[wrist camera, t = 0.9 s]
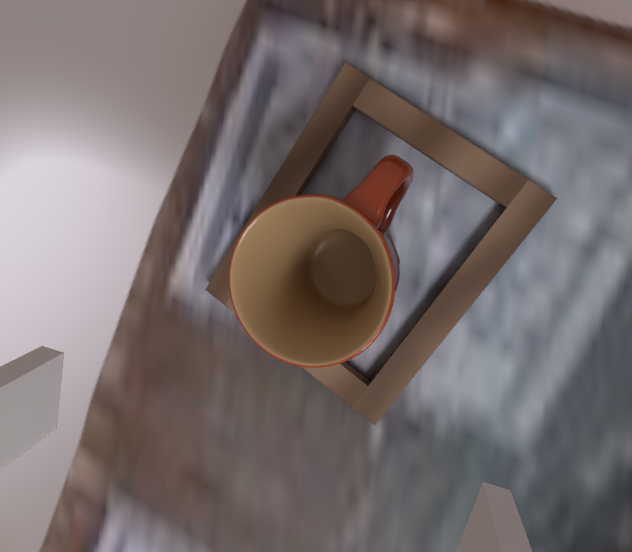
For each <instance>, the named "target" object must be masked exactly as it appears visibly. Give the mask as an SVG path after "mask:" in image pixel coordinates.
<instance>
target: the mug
mask: <svg viewBox="0 0 632 552" xmlns="http://www.w3.org/2000/svg"><path fill="white" fill-rule="evenodd" d="M413 173H414V172H413V168H412V167H411V166H410V164H408V163H407V162H406V161H404V160H403V159H401V158H400V157H398V156H395V155H387V156H385V157H384V158H382V159H381V160H380V161H379V162H378V163H377V164H376V165H375V166H374V167H373V169H372V170H371V171H370V172H369V174H368V175H367V176H366V178H365V179H364V180H363V182H362V183H361V184H360V185H359V186H358V187H356V188H355V189H354V190H352V191H351V192H350V193H349V194H348V195H347V196H346V197H345V198H344V199H343V200H342V201H341V200H339V199H337V198H334V197H331V196H328V195H318V194H309V195H298V196H293V197H289V198H285V199H282V200H280V201H277V202H275V203H273V204H271V205H269V206H268V207H266V208H265V209H263V210H262V211H261V212H259V213H258V214H257V215H256V216H255V217H254V218H253V219H252V220H251V221H250V222H249V223H248V224H247V225H246V227H245V228H244V230H243V231H242V233H241V234H240V236H239V238H238V240H237V242H236V244H235V247H234V249H233V252H232V256H231V260H230V266H229V291H230V297H231V301H232V305H233V308H234V311H235V313H236V316H237V318H238V320H239V322H240V324H241V325H242V327H243V328H244V330H245V331H246V333H247V334H248V335H249V337H250V338H251V339H252V340H253V341H254V342H255V343H256V344H257V345H258V346H259V347H260V348H261V349H263V350H264V351H265V352H267V353H268V354H270V355H271V356H273V357H275V358H277V359H279V360H281V361H283V362H286V363H288V364H292V365H295V366H300V367H308V368H322V367H329V366H333V365H337V364H340V363H343V362H346V361H348V360H350V359H352V358H354V357H355V356H357V355H359V354H360V353H361V352H363V351H364V350H365V349H366V348H368V347H369V346H370V345H371V344H372V343H373V342H374V340H375V339H376V338H377V337H378V335H379V334H380V333H381V331H382V330H383V328H384V326H385V324H386V322H387V320H388V318H389V315H390V313H391V309H392V306H393V301H394V295H395V291H396V288H397V285H398V281H399V264H400V260H399V257H398V254H397V251H396V248H395V246H394V243H393V241H392V239H391V238H390V236H389V235H388V234H387V230H388V228H389V227H390V225H391V223H392V220H393V218H394V215H395V212H396V210H397V208H398V206H399V204H400V202H401V200H402V199H403V197H404V196H405V194H406V192H407V190H408V188H409V186H410V184H411V182H412V179H413Z"/></svg>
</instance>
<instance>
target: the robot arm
mask: <svg viewBox="0 0 632 552" xmlns="http://www.w3.org/2000/svg"><path fill="white" fill-rule="evenodd" d="M63 358H64V353H63V352H59V351H57V350H53V349H50V348H47V347H44V346H41V347H39V348H37V349H35V350H33V351H31V352H29V353H27V354H25V355H23V356H21V357H19V358H17V359H15V360H13V361H11V362H9V363H7V364H5V365H3V366H1V367H0V471H1V470H3V469H4V468H5V467H6V466H8V465H9V464H10V463H12V462H13V461H14V460H16V459H17V458H18V457H20V456H21V455H22V454H24V453H25V452H26V451H27V450H29V449H30V448H31V447H33V446H34V445H35V444H37V443H38V442H39V441H41V440H42V439H43V438H45V437H46V436H47V435H48V434H50V433H51V432H52V431H53V430H55V429H56V428H57V421H58V410H59V400H60V390H61V379H62V368H63ZM456 552H532V549H531V547H530V544H529V541H528V538H527V536H526V533H525V530H524V527H523V524H522V522H521V519H520V516H519V513H518V510H517V508H516V505H515V502H514V499H513V497H512V494H511V491H510V490H508V489H504V488H501V487H498V486H495V485H491V484H488V483H485V482H483V483H482V486H481V488H480V491H479V493H478V496H477V499H476V501H475V504H474V506H473V509H472V511H471V514H470V517H469V519H468V522H467V524H466V527H465V529H464V532H463V535H462V537H461V540H460V542H459V545H458V548H457V550H456Z"/></svg>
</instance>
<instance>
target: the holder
mask: <svg viewBox="0 0 632 552" xmlns="http://www.w3.org/2000/svg"><path fill="white" fill-rule="evenodd" d="M355 109H356V110H358V111H359V112H361V113H362V114H364V115H365V116H367V117H368V118H370V119H371V120H373V121H374V122H376V123H377V124H379V125H380V126H382V127H383V128H385V129H386V130H388V131H389V132H391V133H392V134H394V135H395V136H397V137H399V138H400V139H402V140H403V141H405V142H406V143H408V144H409V145H411V146H412V147H414V148H415V149H417V150H418V151H420V152H421V153H423V154H424V155H426V156H427V157H429V158H430V159H432V160H433V161H435V162H436V163H438V164H439V165H441V166H442V167H444V168H445V169H447V170H449V171H450V172H452V173H453V174H455V175H456V176H458V177H459V178H461V179H462V180H464V181H465V182H467V183H468V184H470V185H471V186H473V187H474V188H476V189H477V190H479V191H480V192H482V193H483V194H485V195H486V196H488V197H489V198H491V199H492V200H494V201H495V202H497V203H499V204H500V205H502V206H503V207H505V209H504V210H503V212H502V213H501V214H500V216H499V217H498V218H497V219H496V221H495V222H494V223H493V225H492V226H491V227H490V228H489V230H488V231H487V232H486V234H485V235H484V236H483V237H482V239H481V240H480V241H479V243H478V244H477V245H476V246H475V248H474V249H473V250H472V252H471V253H470V254H469V255H468V257H467V258H466V259H465V261H464V262H463V263H462V265H461V266H460V267H459V268H458V270H457V271H456V272H455V274H454V275H453V276H452V277H451V279H450V280H449V281H448V283H447V284H446V285H445V286H444V288H443V289H442V290H441V292H440V293H439V294H438V295H437V297H436V298H435V299H434V301H433V302H432V303H431V304H430V306H429V307H428V308H427V310H426V311H425V312H424V313H423V315H422V316H421V317H420V319H419V320H418V321H417V322H416V324H415V325H414V326H413V328H412V329H411V330H410V331H409V333H408V334H407V335H406V337H405V338H404V339H403V340H402V342H401V343H400V344H399V346H398V347H397V348H396V350H395V351H394V352H393V353H392V355H391V356H390V357H389V359H388V360H387V361H386V362H385V364H384V365H383V366H382V368H381V369H380V370H379V371H378V373H377V374H376V375H375V377H374V378H373V379H372V380H371V382H370V381H369V380H368V379H367V378H365V377H364V376H363V375H361V374H360V373H359V372H358V371H356V370H355V369H354V368H352V367H351V366H350V365H349V364H347V363H346V362H343V363H340V364H337V365H333V366H329V367H322V368H308V367H303V368H304V369H305V370H306V371H308V372H309V373H310V374H311V375H313V376H314V377H315V378H316V379H318V380H319V381H320V382H321V383H323V384H324V385H325V386H326V387H328V388H329V389H330V390H331V391H333V392H334V393H335V394H336V395H338V396H339V397H340V398H341V399H343V400H344V401H345V402H346V403H348V404H349V405H350V406H351V407H353V408H354V409H355V410H356V411H358V412H359V413H360V414H361V415H363V416H364V417H365V418H366V419H368V420H369V421H370V422H371V423H373V424H374V425H375V424H376V423H377V422H378V420H379V419H380V418H381V417H382V416H383V414H384V413H385V412H386V411H387V409H388V408H389V407H390V406H391V404H392V403H393V402H394V401H395V399H396V398H397V397H398V396H399V394H400V393H401V392H402V391H403V389H404V388H405V387H406V386H407V384H408V383H409V382H410V381H411V379H412V378H413V377H414V376H415V374H416V373H417V372H418V371H419V370H420V368H421V367H422V366H423V365H424V363H425V362H426V361H427V360H428V358H429V357H430V356H431V355H432V353H433V352H434V351H435V350H436V348H437V347H438V346H439V345H440V343H441V342H442V341H443V340H444V338H445V337H446V336H447V335H448V333H449V332H450V331H451V330H452V328H453V327H454V326H455V325H456V324H457V322H458V321H459V320H460V319H461V317H462V316H463V315H464V314H465V312H466V311H467V310H468V309H469V307H470V306H471V305H472V304H473V302H474V301H475V300H476V299H477V297H478V296H479V295H480V294H481V292H482V291H483V290H484V289H485V287H486V286H487V285H488V284H489V282H490V281H491V280H492V279H493V278H494V276H495V275H496V274H497V273H498V271H499V270H500V269H501V268H502V266H503V265H504V264H505V263H506V261H507V260H508V259H509V258H510V256H511V255H512V254H513V253H514V251H515V250H516V249H517V248H518V246H519V245H520V244H521V243H522V241H523V240H524V239H525V238H526V237H527V235H528V234H529V233H530V232H531V230H532V229H533V228H534V227H535V225H536V224H537V223H538V222H539V220H540V219H541V218H542V217H543V215H544V214H545V213H546V212H547V210H548V209H549V208H550V207H551V205H552V204H553V203H554V202H555V200H556V199H557V198H556V197H554V196H553V195H551V194H550V193H548V192H547V191H545V190H543V189H542V188H540V187H539V186H537V185H536V184H534V183H532V182H531V181H529V180H528V179H526V178H525V177H523V176H522V175H520V174H518V173H517V172H515V171H514V170H512V169H511V168H509V167H508V166H506V165H504V164H503V163H501V162H500V161H498V160H497V159H495V158H493V157H492V156H490V155H489V154H487V153H486V152H484V151H483V150H481V149H479V148H478V147H476V146H475V145H473V144H472V143H470V142H469V141H467V140H465V139H464V138H462V137H461V136H459V135H458V134H456V133H455V132H453V131H451V130H450V129H448V128H447V127H445V126H444V125H442V124H440V123H439V122H437V121H436V120H434V119H433V118H431V117H430V116H428V115H426V114H425V113H423V112H422V111H420V110H419V109H417V108H416V107H414V106H412V105H411V104H409V103H408V102H406V101H405V100H403V99H401V98H400V97H398V96H397V95H395V94H394V93H392V92H391V91H389V90H387V89H386V88H384V87H383V86H381V85H380V84H378V83H377V82H375V81H373V80H372V79H370V78H369V77H367V76H366V75H364V74H363V73H361V72H359V71H358V70H356V69H355V68H353V67H352V66H350V65H348V64H347V63H345V64H344V66H343V68H342V69H341V71H340V73H339V74H338V76H337V77H336V79H335V81H334V82H333V84H332V85H331V87H330V89H329V90H328V92H327V94H326V95H325V97H324V98H323V100H322V102H321V103H320V105H319V107H318V108H317V110H316V111H315V113H314V115H313V116H312V118H311V119H310V121H309V123H308V124H307V126H306V128H305V129H304V131H303V132H302V134H301V136H300V137H299V139H298V140H297V142H296V144H295V145H294V147H293V149H292V150H291V152H290V153H289V155H288V157H287V158H286V160H285V162H284V163H283V165H282V166H281V168H280V170H279V171H278V173H277V174H276V176H275V178H274V179H273V181H272V183H271V184H270V186H269V187H268V189H267V191H266V192H265V194H264V195H263V197H262V199H261V200H260V202H259V204H258V205H257V207H256V208H255V210H254V212H253V213H252V215H251V217H250V218H249V220H248V221H247V223H246V225H247V224H248V223H249V222H250V221H251V220H252V219H253V218H254V217H255V216H256V215H257V214H258V213H259V212H261V211H262V210H263V209H265V208H266V207H268V206H269V205H271V204H273V203H275V202H277V201H280V200H282V199H285V198H289V197H293V196H298V195H301V194H302V192H303V190H304V189H305V187H306V186H307V184H308V183H309V181H310V179H311V178H312V176H313V175H314V173H315V172H316V170H317V169H318V167H319V165H320V164H321V162H322V161H323V159H324V158H325V156H326V155H327V153H328V151H329V150H330V148H331V147H332V145H333V144H334V142H335V141H336V139H337V137H338V136H339V134H340V133H341V131H342V130H343V128H344V126H345V125H346V123H347V122H348V120H349V119H350V117H351V116H352V114H353V112H354V111H355ZM246 225H245V226H244V228H245V227H246ZM244 228H243V229H242V231H243V230H244ZM242 231H241V233H242ZM241 233H240V234H241ZM240 234H239V236H240ZM239 236H238V238H239ZM238 238H237V239H236V241H235V242H234V244H233V246H232V247H231V249H230V250H229V252H228V254H227V255H226V257H225V259H224V260H223V262H222V263H221V265H220V267H219V268H218V270H217V272H216V273H215V275H214V276H213V278H212V280H211V281H210V283H209V284H208V286H207V288H206V289H205V290H207V291H208V292H209V293H210V294H212V295H213V296H214V297H215V298H217V299H218V300H219V301H220V302H221V303H223V304H224V305H225V306H226V307H228V308H229V309H230V310H231V311H233V312H234V313H235V311H234V308H233V305H232V301H231V297H230V291H229V266H230V260H231V256H232V252H233V249H234V247H235V244H236V242H237V240H238ZM235 314H236V313H235Z"/></svg>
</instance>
